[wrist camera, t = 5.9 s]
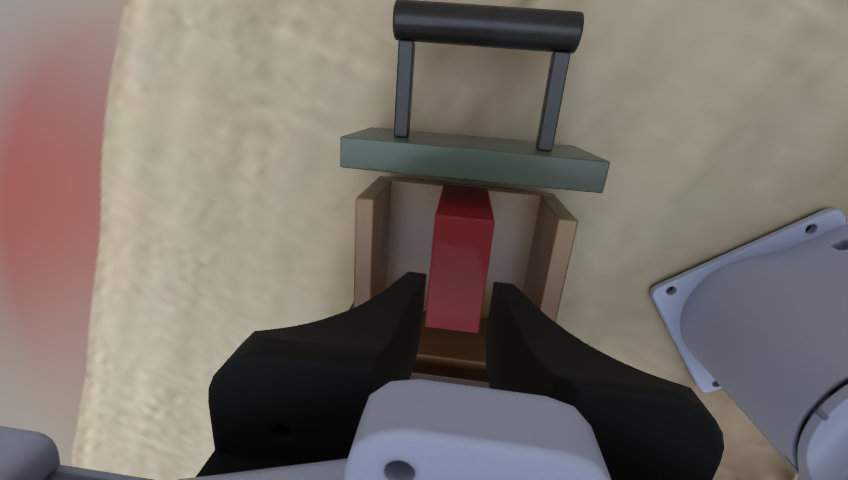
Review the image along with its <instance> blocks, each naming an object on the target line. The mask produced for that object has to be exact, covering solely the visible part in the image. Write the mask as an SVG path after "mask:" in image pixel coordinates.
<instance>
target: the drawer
mask: <svg viewBox="0 0 848 480" xmlns="http://www.w3.org/2000/svg"><path fill="white" fill-rule="evenodd" d="M583 26H584V15H583V13H582V12H577V11H563V10H548V9H533V8H518V7H504V6H489V5H474V4H460V3H445V2H430V1H416V0H396V2H395V5H394V10H393V33H394V37H395V39H396V40H399V44H398V64H397V83H396V103H395V122H394V129H384V128H373V127H371V128H368V129H365V130H362V131H358V132H355V133H352V134H349V135H345V136H342V137H341V160H340V166H341V167H343V168H353V169H363V170H373V171H383V172H393V173H404V174H414V175H424V176H434V177H444V178H454V179H464V180H474V181H484V182H494V183H504V184H515V185H525V186H535V187H545V188H555V189H565V190H575V191H585V192H595V193H602V192H603V189H604V185H605V181H606V177H607V172H608V168H609V164H610V162H609V161H607V160H604V159H602V158H600V157H598V156H595V155H593V154H591V153H589V152H586V151H584V150H582V149H580V148H578V147H575V146H570V145H559V144H553V143H554V138H555V133H556V128H557V122H558V117H559V112H560V106H561V101H562V96H563V91H564V85H565V80H566V75H567V69H568V64H569V59H570V53H574V52H575V51H576V49H577V47H578V45H579V43H580V40H581V36H582V32H583ZM414 42H426V43H439V44H452V45H466V46H479V47H492V48H505V49H519V50H532V51H545V52H554V53H552V56H551V62H550V67H549V73H548V79H547V85H546V90H545V96H544V102H543V108H542V113H541V119H540V125H539V130H538V136H537V142H527V141H516V140H505V139H494V138H483V137H472V136H461V135H450V134H439V133H428V132H417V131H410V118H411V102H412V87H413V71H414V56H415V43H414ZM444 184H451V185H461V186H471V187H481V188H487V189H488V193H489V198H490V202H491V207H492V211H493V216H494V220H495V226H494V233H493V239H492V246H491V253H490V259H489V266H488V273H487V280H486V286H485V293H484V300H483V306H482V313H481V320H480V327H479V332H478V333H472V332H464V331H456V330H448V329H440V328H432V327H426V326H425V317H426V307H427V296H428V285H429V274H430V264H431V253H432V242H433V231H434V221H435V214H436V210H437V207H438V203H439V199H440V196H441V192H442V188H443V185H444ZM577 224H578V221H577V220H576V218H575V217H574V216H573V215H572V214H571V213H570V212H569V211H568V210H567V208H566V207H565V206H564V205H563V204H562V203H561V202H560V201H559V200H558V198H557V197H556V196H555V195H554V194H553V193H543V192H533V191H523V190H513V189H503V188H493V187H483V186H473V185H463V184H453V183H443V182H433V181H423V180H413V179H403V178H393V177H383V176H380V177H379V178H378V179H377V180H376V181H375V182H373V183H372V184H371V185H370V186H369V187H368V188H367V189H366V190H365V191H364V192H362V193H361V194H360V195H359V196H358V197H357V198H356V217H355V267H354V307H357V306H359V305H361V304H363V303H364V302H366V301H368V300H370V299H371V298H373V297H374V296H376V295H378V294H379V293H381V292H382V291H384V290H385V289H386V288H388V287H389V286H390V285H392V284H393V283H394V282H396V281H397V280H398V279H399V278H401V277H402V276H403V275H404V274H406V273H407V272H417V273H425V274H427V275H426V286H425V298H424V309H423V320H422V329H421V336H420V342H419V348H418V353H417V356H416V360H415V363H419V364H426V365H434V366H441V367H449V368H456V369H464V370H471V371H479V372H486V373H487V367H486V329H487V323H488V317H489V310H490V304H491V297H492V291H493V285H494V282H503V283H511V284H514V285H515V286H516V287H517V288H518V289H519V290H520V291H522V292H523V293H524V294H525V295H526V296H527V297H528V298H529V299H530V300H531V301H532V302H533V303H534V304H535V305H536V306H537V307H538V308H539V309H540V310H541V311H542V312H543V313H545V314H546V315H547V316H548V317H549V318H551V319H552V320H553V321H554V322H556V317H557V313H558V309H559V304H560V300H561V295H562V291H563V286H564V282H565V277H566V273H567V269H568V264H569V260H570V255H571V251H572V246H573V242H574V238H575V233H576V229H577Z"/></svg>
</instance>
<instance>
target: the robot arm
mask: <svg viewBox="0 0 848 480" xmlns="http://www.w3.org/2000/svg"><path fill="white" fill-rule="evenodd" d="M809 225H811V227H810V229H809V230H807V231H805V229H806V227H807V226H809ZM426 275H427V274H425V273H417V272H407V273H406V274H404V275H403V276H402V277H401V278H399V279H398V280H397V281H396V282H394V283H393V284H392V285H390V286H389V287H388V288H386V289H385V290H384V291H382V292H381V293H379V294H378V295H376V296H374V297H373V298H371V299H370V300H368V301H366V302H364V303H363V304H361V305H359V306H357V307H354V308H352V309H350V310H348V311H346V312H343V313H340V314H337V315H334V316H332V317H329V318H326V319H323V320H319V321H316V322H312V323H308V324H303V325H298V326H293V327H287V328H279V329H271V330H263V331H254V332H253V333H252V334H251V335H250V336H249V337H248V338H247V339H246V340H245V341H244V342H243V343H242V344H241V345H240V347H239V348H238V349H237V350H236V351H235V352H234V353H233V354H232V356H231V357H230V358H229V359H228V360H227V361H226V362H225V363H224V365H223V366H222V367H221V368H220V369H219V370H218V371H217V373H216V374H215V375H214V376H213V379H212V381H211V384H210V387H209V409H210V417H211V424H212V431H213V438H214V445H215V451H214V452H213V454H212V455H211V457H210V458H209V459H208V461H207V462H206V464H205V465H204V466H203V468H202V469H201V471H200V472H199V473H198V475H197V476H196V477H195V478H187V479H179V480H712V479H713V477H714V475H715V473H716V471H717V468H718V466H719V464H720V462H721V458H722V454H723V450H724V441H723V433H722V431H721V429H720V428H719V426H718V424H717V422H716V420H715V419H714V417H713V416H712V415H711V414H710V412H709V411H708V410H707V408H706V407H705V406H704V404H703V403H702V402H701V401H700V399H699V398H698V397H697V395H696V394H695V393H694V392H693V390H692V389H691V388H689V387H686V386H683V385H680V384H677V383H674V382H671V381H668V380H665V379H662V378H659V377H656V376H653V375H651V374H648V373H645V372H643V371H641V370H638V369H636V368H633V367H631V366H629V365H626V364H624V363H622V362H620V361H618V360H616V359H613V358H611V357H609V356H607V355H606V354H604V353H602V352H600V351H598V350H596V349H594V348H592V347H591V346H589V345H587V344H586V343H584V342H582V341H581V340H579V339H578V338H576V337H575V336H573V335H572V334H570V333H569V332H567V331H566V330H565V329H563V328H562V327H560V326H559V325H558V324H557V323H555V322H554V321H553V320H552V319H551V318H549V317H548V316H547V315H546V314H545V313H543V312H542V311H541V310H540V309H539V308H538V307H537V306H536V305H535V304H534V303H533V302H532V301H531V300H530V299H529V298H528V297H527V296H526V295H525V294H524V293H523V292H522V291H520V290H519V289H518V288H517V287H516V286H515V285H514V284H511V283H503V282H494V285H493V291H492V297H491V304H490V310H489V317H488V323H487V329H486V367H487V374H488V381H489V387H490V389H489V388H482V387H475V386H467V385H460V384H452V383H445V382H438V381H430V380H423V379H413V380H410V376H411V373H412V370H413V366H414V363H415V360H416V356H417V353H418V348H419V342H420V336H421V329H422V320H423V309H424V298H425V286H426ZM671 286H673V288H672V290H671V291H669V292H666V290H667V288H669V287H671ZM650 296H651V298H652V300H653V302H654V304H655V305H656V307H657V309H658V311H659V313H660V315H661V317H662V319H663V321H664V323H665V325H666V327H667V329H668V331H669V333H670V335H671V337H672V339H673V341H674V343H675V345H676V347H677V348H678V350H679V352H680V354H681V356H682V358H683V360H684V362H685V364H686V366H687V368H688V370H689V372H690V374H691V376H692V378H693V380H694V382H695V384H696V386H697V387H698V388H699V389H700V391H702V392H704V393H709V392H713V391H716V390H718V389H721V388H723V390H724V391H725V392H726V393H727V394H728V395H729V396H730V398H731V399H732V400H733V401H734V402H735V403H736V404H737V405H738V407H739V408H740V409H741V410H742V411H743V412H744V413H745V415H746V416H747V417H748V418H749V419H750V420H751V421H752V423H753V424H754V425H755V426H756V427H757V428H758V429H759V431H760V432H761V433H762V434H763V435H764V436H765V437H766V438H767V440H768V441H769V442H770V443H771V444H772V445H773V446H774V448H775V449H776V450H777V451H778V452H779V453H780V454H781V456H782V457H783V458H784V459H785V460H786V461H787V462H788V463H789V465H790V466H791V467H792V468H793V469H794V470H795V471H796V473H797V474H798V479H797V480H848V225H847V222H846V219H845V216H844V214H843V212H842V211H840V210H837V209H834V208H827V209H824V210H822V211H820V212H817V213H815V214H813V215H811V216H808V217H806V218H804V219H802V220H799V221H797V222H795V223H793V224H791V225H788V226H786V227H784V228H782V229H779V230H777V231H775V232H773V233H770V234H768V235H766V236H764V237H761V238H759V239H757V240H755V241H753V242H750V243H748V244H746V245H744V246H741V247H739V248H737V249H735V250H732V251H730V252H728V253H726V254H724V255H721V256H719V257H717V258H715V259H712V260H710V261H708V262H706V263H703V264H701V265H699V266H697V267H694V268H692V269H690V270H688V271H686V272H683V273H681V274H679V275H677V276H674V277H672V278H670V279H668V280H665V281H663V282H661V283H659V284H657V285H655V286H653V287H652V288H651V290H650ZM715 380H716V382H713V381H715ZM0 480H152V479H146V478H140V477H134V476H128V475H121V474H115V473H109V472H103V471H96V470H90V469H84V468H78V467H72V466H65V465H60V459H59V452H58V449H57V446H56V444H55V443H54V441H53V440H52V439H51V438H49V437H48V436H47V435H45V434H42V433H40V432H35V431H28V430H23V429H16V428H9V427H3V426H0Z"/></svg>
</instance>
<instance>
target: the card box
mask: <svg viewBox="0 0 848 480" xmlns="http://www.w3.org/2000/svg"><path fill="white" fill-rule="evenodd" d="M494 226H495V220H494V216H493V211H492V207H491V202H490V198H489V193H488V189H487V188H481V187H471V186H461V185H451V184H444V185H443V188H442V192H441V196H440V199H439V203H438V207H437V210H436V214H435V221H434V231H433V242H432V253H431V264H430V274H429V285H428V296H427V307H426V317H425V326H426V327H432V328H440V329H448V330H456V331H464V332H472V333H478V332H479V327H480V320H481V313H482V306H483V300H484V293H485V286H486V280H487V273H488V266H489V259H490V253H491V246H492V239H493V233H494Z"/></svg>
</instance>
